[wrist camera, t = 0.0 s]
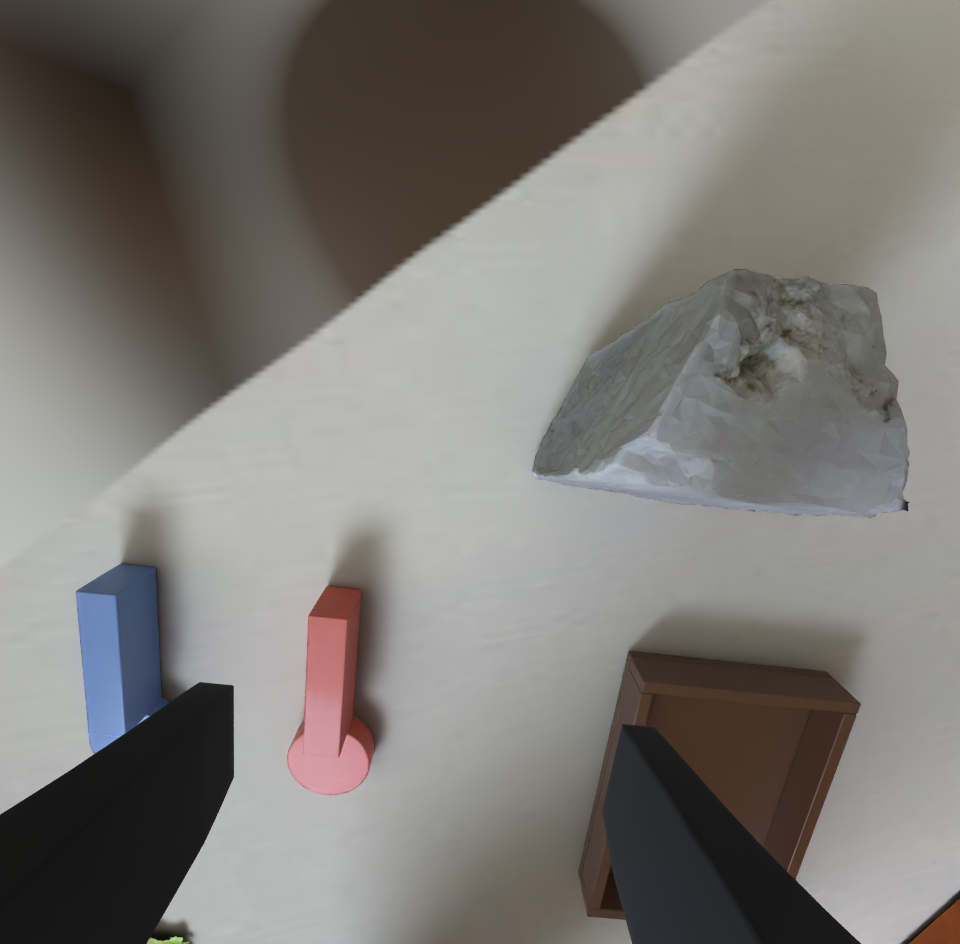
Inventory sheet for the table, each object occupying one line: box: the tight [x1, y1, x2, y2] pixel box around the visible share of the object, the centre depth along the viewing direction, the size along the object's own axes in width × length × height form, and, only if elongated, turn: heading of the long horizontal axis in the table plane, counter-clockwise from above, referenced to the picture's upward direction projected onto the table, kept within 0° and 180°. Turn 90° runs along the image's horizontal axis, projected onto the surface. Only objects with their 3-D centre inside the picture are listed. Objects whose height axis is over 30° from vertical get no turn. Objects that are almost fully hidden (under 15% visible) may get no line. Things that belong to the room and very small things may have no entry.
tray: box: [579, 651, 861, 920], centre depth 21 cm, size 12×8×2 cm
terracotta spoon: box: [287, 586, 374, 795], centre depth 19 cm, size 9×3×2 cm, turn 173°
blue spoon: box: [76, 564, 170, 754], centre depth 19 cm, size 9×3×2 cm, turn 173°
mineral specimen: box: [532, 269, 910, 518], centre depth 14 cm, size 7×9×8 cm
